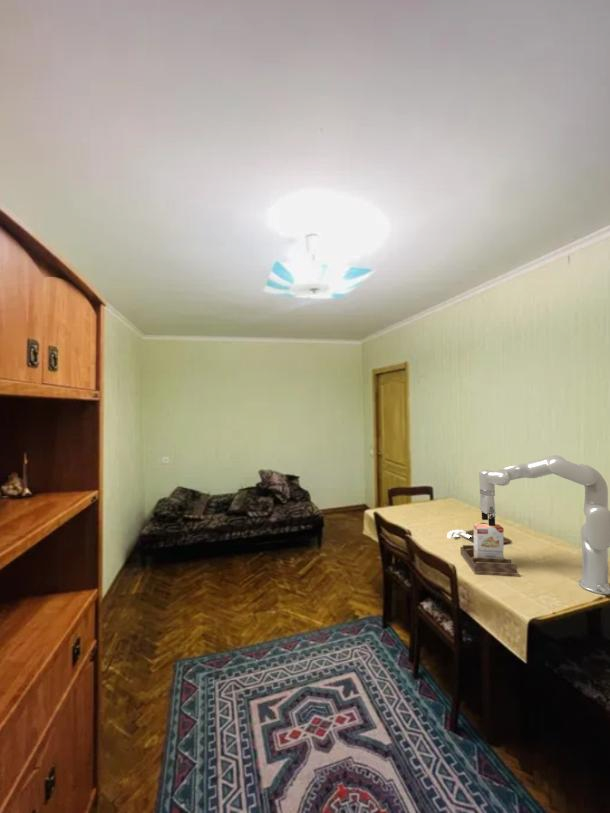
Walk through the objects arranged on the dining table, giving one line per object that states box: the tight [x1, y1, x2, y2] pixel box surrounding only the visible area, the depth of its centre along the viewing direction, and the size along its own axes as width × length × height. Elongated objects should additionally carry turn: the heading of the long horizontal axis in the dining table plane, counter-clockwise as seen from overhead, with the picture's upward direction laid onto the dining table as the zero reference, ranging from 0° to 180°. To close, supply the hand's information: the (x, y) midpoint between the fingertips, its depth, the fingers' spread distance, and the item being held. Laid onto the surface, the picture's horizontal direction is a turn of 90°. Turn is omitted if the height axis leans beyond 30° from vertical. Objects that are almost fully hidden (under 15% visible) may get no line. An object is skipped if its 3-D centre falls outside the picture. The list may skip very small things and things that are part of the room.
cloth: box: [446, 529, 473, 540], centre depth 230 cm, size 20×22×2 cm
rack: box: [460, 544, 521, 578], centre depth 188 cm, size 22×24×6 cm
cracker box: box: [473, 523, 505, 559], centre depth 188 cm, size 14×6×21 cm, turn 83°
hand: (488, 522), depth 188 cm, fingers open, 9 cm apart
